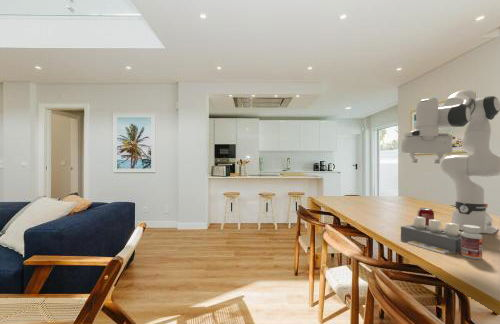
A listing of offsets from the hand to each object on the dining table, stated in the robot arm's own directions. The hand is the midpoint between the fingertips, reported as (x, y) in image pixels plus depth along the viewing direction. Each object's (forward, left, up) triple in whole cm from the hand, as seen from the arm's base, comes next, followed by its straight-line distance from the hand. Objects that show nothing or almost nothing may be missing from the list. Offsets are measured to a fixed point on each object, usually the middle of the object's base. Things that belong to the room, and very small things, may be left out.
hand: (425, 163), depth 122 cm
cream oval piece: (+5, 0, -31) cm, 31 cm away
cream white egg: (+5, +7, -31) cm, 32 cm away
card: (+14, +9, -35) cm, 38 cm away
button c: (+5, +13, -31) cm, 34 cm away
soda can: (-9, -5, -35) cm, 36 cm away
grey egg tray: (+5, +7, -35) cm, 36 cm away
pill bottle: (+9, +22, -35) cm, 42 cm away
